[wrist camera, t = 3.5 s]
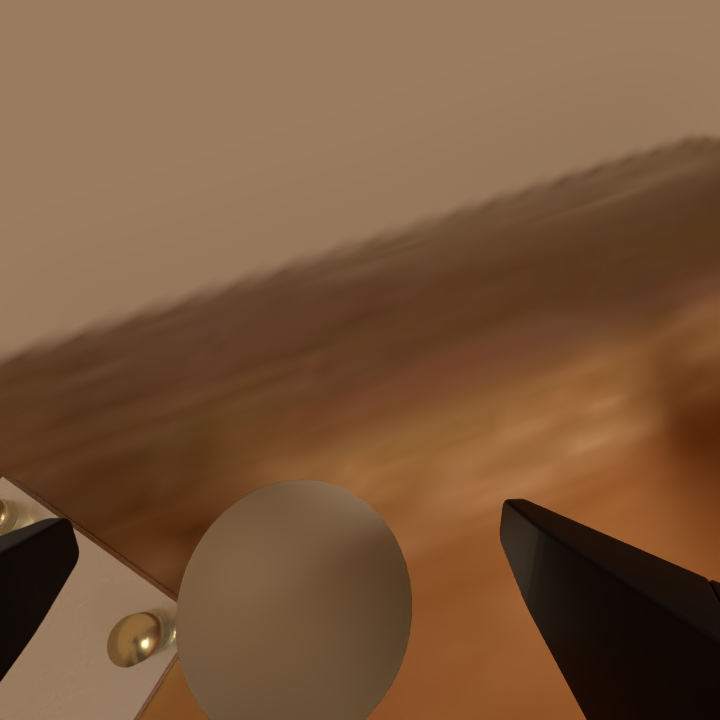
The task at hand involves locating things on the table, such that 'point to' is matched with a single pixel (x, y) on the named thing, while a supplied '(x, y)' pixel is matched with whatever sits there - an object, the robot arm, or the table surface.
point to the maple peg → (294, 607)
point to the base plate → (89, 632)
